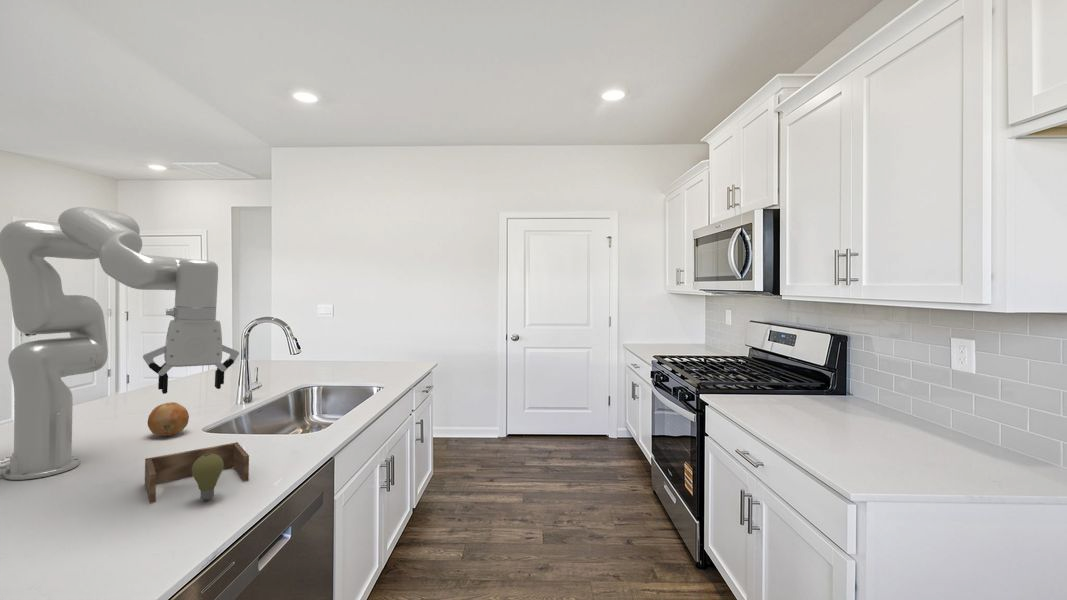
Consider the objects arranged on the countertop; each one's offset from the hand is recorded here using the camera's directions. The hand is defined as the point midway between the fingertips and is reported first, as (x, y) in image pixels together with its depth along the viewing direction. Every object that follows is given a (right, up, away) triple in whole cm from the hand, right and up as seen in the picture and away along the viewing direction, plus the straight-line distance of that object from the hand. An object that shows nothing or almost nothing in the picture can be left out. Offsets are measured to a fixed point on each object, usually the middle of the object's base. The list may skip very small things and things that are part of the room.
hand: (191, 390), depth 101 cm
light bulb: (+7, -23, -5) cm, 25 cm away
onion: (-33, -21, +35) cm, 53 cm away
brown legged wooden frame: (-1, -22, +4) cm, 23 cm away
